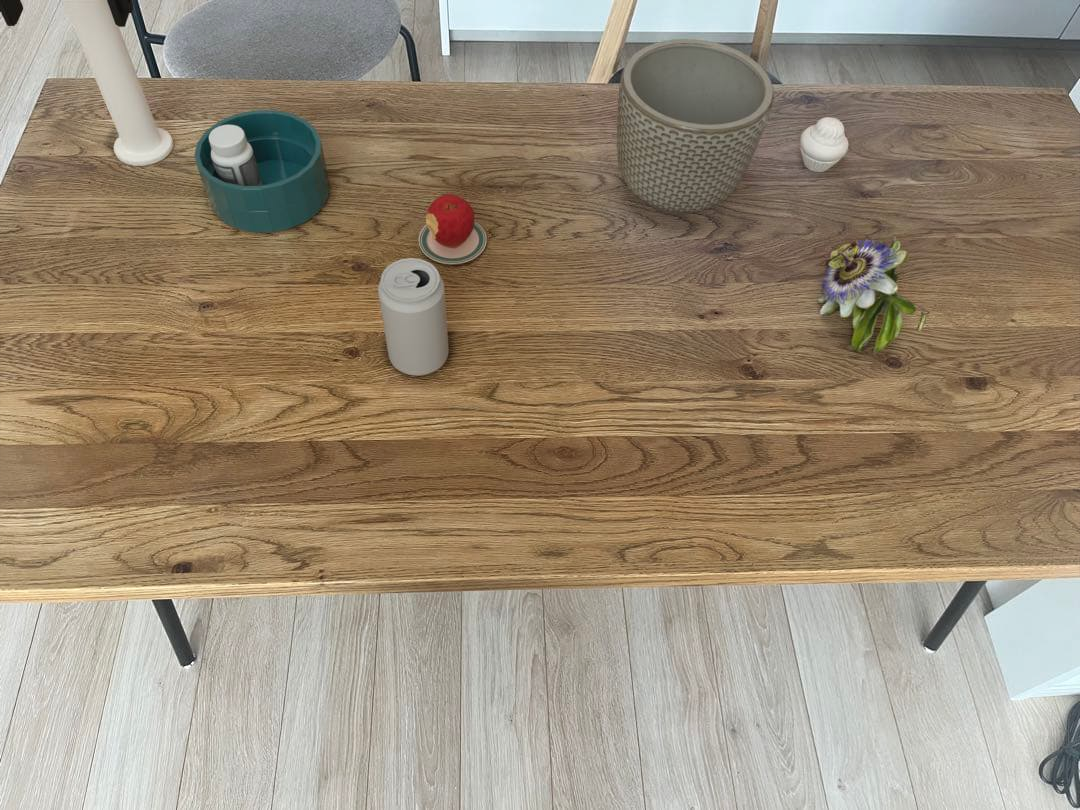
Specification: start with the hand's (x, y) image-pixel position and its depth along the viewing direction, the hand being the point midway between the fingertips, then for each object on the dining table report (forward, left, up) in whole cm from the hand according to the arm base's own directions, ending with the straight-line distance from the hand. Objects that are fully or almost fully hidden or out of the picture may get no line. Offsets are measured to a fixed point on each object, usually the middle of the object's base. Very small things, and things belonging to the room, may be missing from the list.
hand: (70, 18), depth 82 cm
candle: (-4, +14, -26) cm, 30 cm away
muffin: (+83, +9, -26) cm, 87 cm away
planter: (+63, +4, -26) cm, 68 cm away
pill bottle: (+10, +4, -25) cm, 28 cm away
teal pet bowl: (+13, +5, -26) cm, 29 cm away
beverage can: (+31, -21, -26) cm, 46 cm away
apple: (+35, -4, -26) cm, 44 cm away
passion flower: (+81, -17, -26) cm, 87 cm away
